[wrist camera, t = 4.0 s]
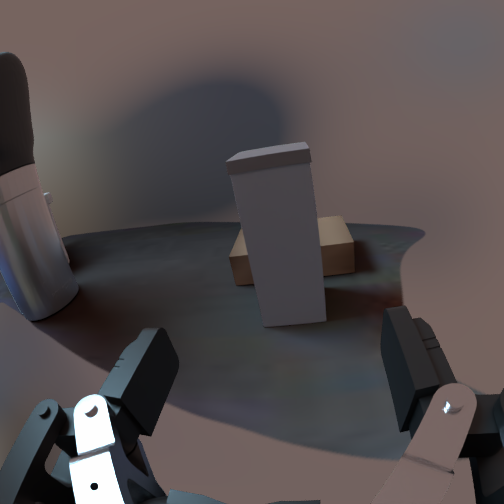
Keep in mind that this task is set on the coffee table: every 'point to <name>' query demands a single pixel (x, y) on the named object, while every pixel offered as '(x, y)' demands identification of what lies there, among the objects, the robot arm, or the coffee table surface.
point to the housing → (281, 232)
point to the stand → (331, 242)
